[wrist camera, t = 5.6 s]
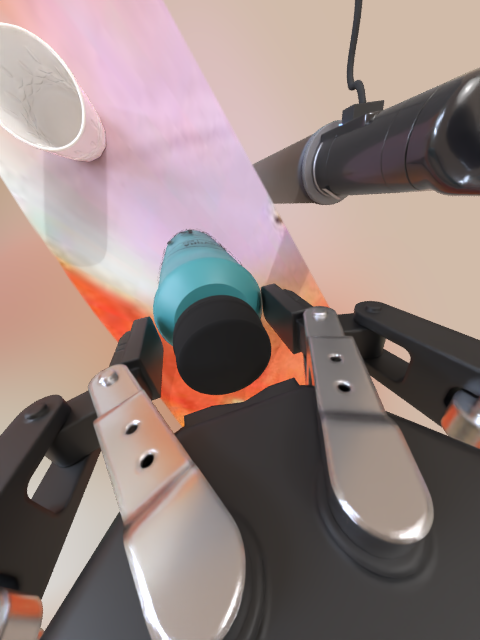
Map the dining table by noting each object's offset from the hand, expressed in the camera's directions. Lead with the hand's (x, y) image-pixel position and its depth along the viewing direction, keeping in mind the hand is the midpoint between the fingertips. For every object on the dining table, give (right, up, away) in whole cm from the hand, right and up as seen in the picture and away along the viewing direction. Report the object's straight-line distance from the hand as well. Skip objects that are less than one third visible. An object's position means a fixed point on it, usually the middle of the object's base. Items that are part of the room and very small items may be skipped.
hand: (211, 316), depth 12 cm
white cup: (-19, +24, +15) cm, 35 cm away
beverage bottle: (-4, +8, +13) cm, 16 cm away
